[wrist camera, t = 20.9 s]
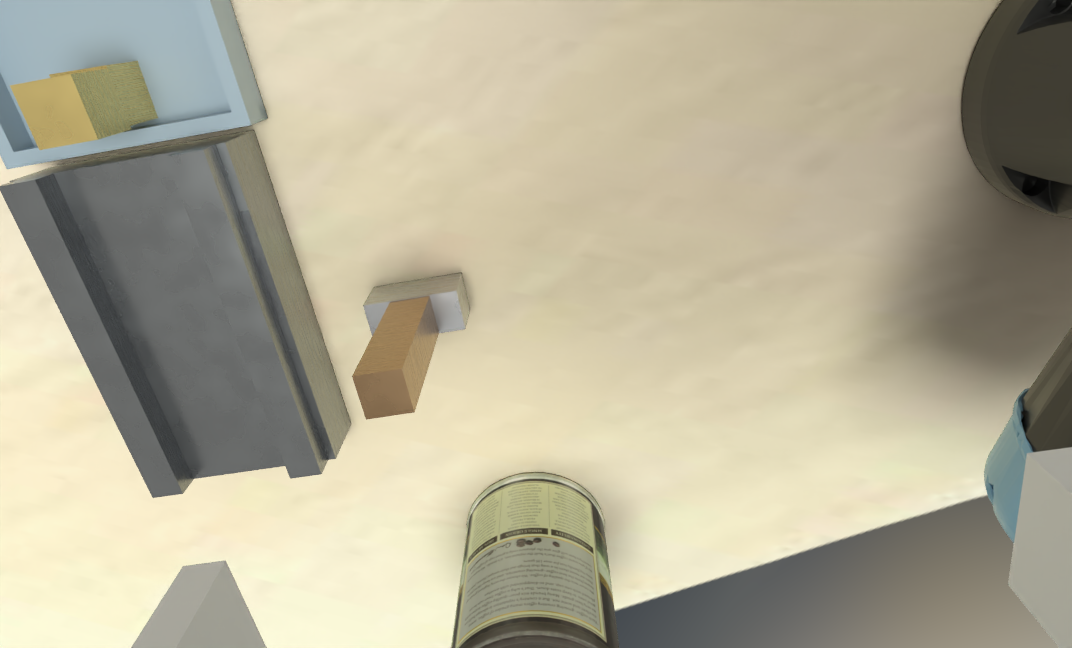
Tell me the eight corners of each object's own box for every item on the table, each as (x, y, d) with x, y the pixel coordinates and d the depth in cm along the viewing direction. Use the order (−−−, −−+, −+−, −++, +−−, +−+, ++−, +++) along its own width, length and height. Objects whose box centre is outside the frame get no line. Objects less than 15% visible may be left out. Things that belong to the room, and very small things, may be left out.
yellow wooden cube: (158, 117, 39) (137, 60, 37) (129, 126, 36) (105, 65, 35) (106, 125, 39) (84, 69, 38) (74, 135, 36) (49, 74, 35)
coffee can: (632, 537, 52) (663, 711, 39) (524, 599, 55) (519, 782, 42) (549, 445, 49) (552, 603, 36) (437, 517, 51) (403, 688, 38)
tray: (196, -106, 35) (172, -114, 33) (267, 118, 39) (251, 125, 37) (-62, -52, 36) (-103, -56, 34) (36, 160, 40) (6, 169, 38)
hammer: (461, 272, 43) (435, 362, 32) (469, 309, 44) (447, 408, 33) (374, 286, 44) (319, 380, 33) (384, 322, 45) (334, 424, 34)
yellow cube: (107, 68, 35) (70, 73, 32) (131, 129, 36) (98, 139, 33) (51, 79, 35) (9, 85, 32) (77, 139, 36) (39, 150, 33)
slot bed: (253, 130, 40) (212, 148, 35) (351, 424, 48) (329, 473, 43) (56, 165, 41) (-11, 188, 36) (185, 448, 49) (145, 498, 44)
